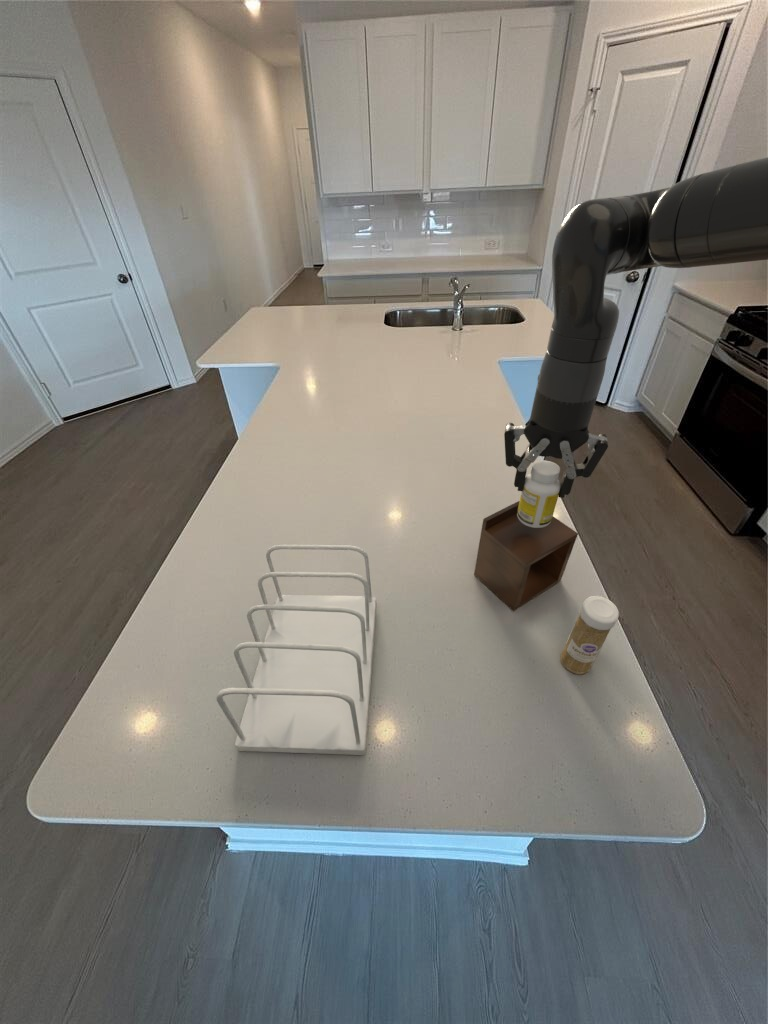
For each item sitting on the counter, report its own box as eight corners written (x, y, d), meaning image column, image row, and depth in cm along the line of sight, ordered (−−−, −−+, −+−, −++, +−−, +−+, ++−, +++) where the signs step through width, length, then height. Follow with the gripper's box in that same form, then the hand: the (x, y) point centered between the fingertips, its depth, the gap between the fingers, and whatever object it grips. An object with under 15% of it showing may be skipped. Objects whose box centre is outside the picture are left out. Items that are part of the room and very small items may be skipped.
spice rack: (560, 581, 80) (581, 524, 71) (513, 611, 75) (529, 554, 66) (519, 548, 86) (534, 492, 77) (473, 574, 81) (483, 518, 72)
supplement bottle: (550, 509, 72) (564, 459, 66) (552, 531, 68) (567, 480, 62) (516, 505, 73) (527, 455, 67) (516, 526, 69) (527, 476, 63)
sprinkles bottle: (565, 676, 66) (591, 622, 57) (555, 649, 69) (578, 595, 61) (596, 674, 66) (626, 621, 57) (584, 648, 69) (611, 593, 61)
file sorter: (279, 601, 78) (260, 538, 68) (376, 603, 77) (373, 539, 67) (236, 751, 59) (202, 694, 49) (366, 756, 58) (358, 699, 48)
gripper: (507, 393, 55) (490, 498, 66) (631, 406, 52) (591, 514, 63) (512, 370, 61) (495, 470, 72) (625, 380, 57) (589, 484, 68)
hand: (540, 490), depth 67 cm, fingers closed on supplement bottle, 5 cm apart
